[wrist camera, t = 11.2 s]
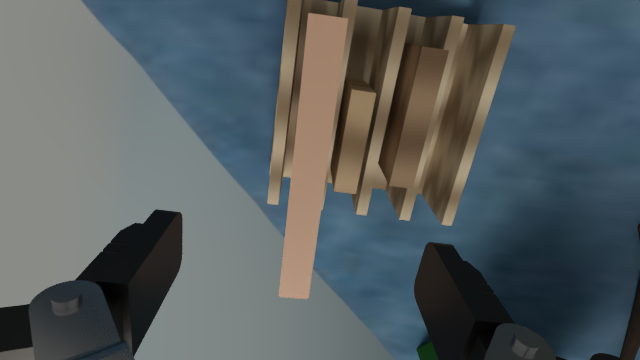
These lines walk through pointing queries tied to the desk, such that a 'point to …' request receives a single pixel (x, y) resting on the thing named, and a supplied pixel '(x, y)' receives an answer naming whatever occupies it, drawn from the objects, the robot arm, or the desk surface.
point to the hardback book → (427, 352)
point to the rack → (380, 74)
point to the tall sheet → (311, 149)
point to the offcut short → (351, 134)
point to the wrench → (633, 329)
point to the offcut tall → (411, 112)
